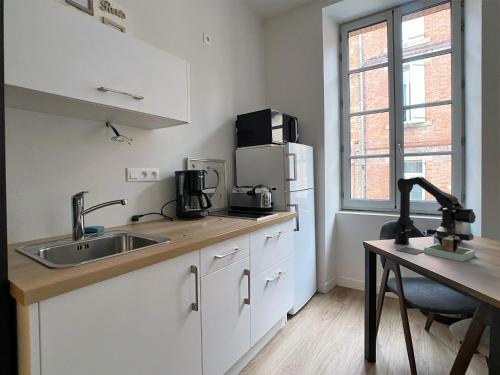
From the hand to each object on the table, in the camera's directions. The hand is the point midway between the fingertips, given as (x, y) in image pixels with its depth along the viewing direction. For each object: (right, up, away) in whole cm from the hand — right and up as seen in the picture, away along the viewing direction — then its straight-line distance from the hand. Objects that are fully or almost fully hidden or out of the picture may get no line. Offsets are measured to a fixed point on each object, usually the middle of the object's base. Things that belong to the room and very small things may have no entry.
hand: (448, 250), depth 135 cm
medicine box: (+10, -1, +17) cm, 20 cm away
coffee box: (+22, -1, +27) cm, 35 cm away
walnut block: (0, -2, 0) cm, 2 cm away
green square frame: (0, -2, 0) cm, 2 cm away
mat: (-15, -2, +8) cm, 17 cm away
